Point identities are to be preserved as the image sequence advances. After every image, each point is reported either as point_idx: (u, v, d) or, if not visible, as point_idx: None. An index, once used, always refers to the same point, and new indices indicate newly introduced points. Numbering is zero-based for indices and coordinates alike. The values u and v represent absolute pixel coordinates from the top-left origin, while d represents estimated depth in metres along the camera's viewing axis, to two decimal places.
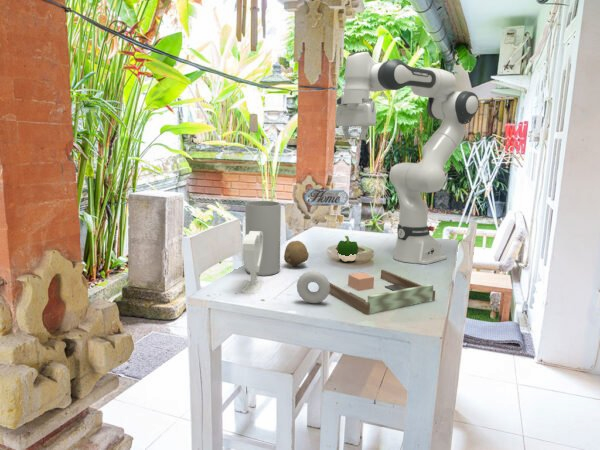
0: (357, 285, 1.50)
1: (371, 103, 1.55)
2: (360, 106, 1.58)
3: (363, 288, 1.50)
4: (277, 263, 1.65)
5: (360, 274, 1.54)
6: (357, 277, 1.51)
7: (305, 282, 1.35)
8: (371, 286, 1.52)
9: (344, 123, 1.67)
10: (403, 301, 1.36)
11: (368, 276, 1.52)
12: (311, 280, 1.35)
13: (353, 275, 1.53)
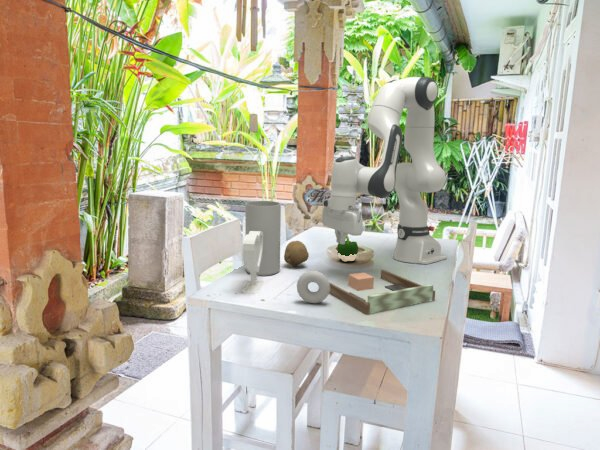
0: (356, 285, 1.50)
1: (357, 213, 1.51)
2: (346, 214, 1.54)
3: (362, 288, 1.50)
4: (277, 263, 1.65)
5: (360, 274, 1.54)
6: (356, 277, 1.51)
7: (305, 282, 1.35)
8: (371, 286, 1.52)
9: (330, 226, 1.63)
10: (403, 301, 1.36)
11: (368, 276, 1.52)
12: (311, 280, 1.35)
13: (353, 275, 1.53)
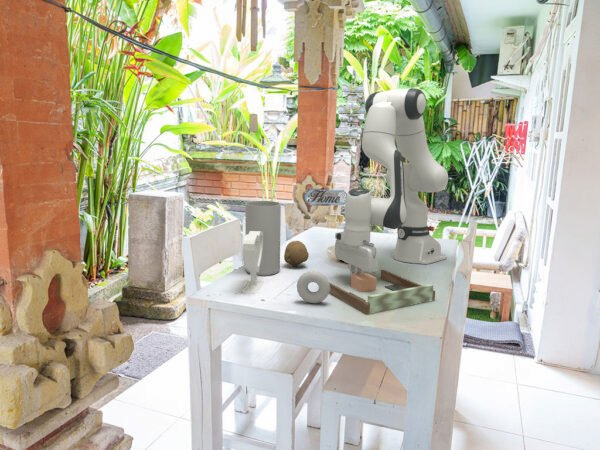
0: (359, 285, 1.49)
1: (372, 249, 1.45)
2: (361, 249, 1.48)
3: (365, 289, 1.49)
4: (277, 263, 1.65)
5: (363, 274, 1.53)
6: (359, 277, 1.50)
7: (305, 282, 1.35)
8: (373, 287, 1.50)
9: (343, 259, 1.57)
10: (403, 301, 1.36)
11: (371, 277, 1.51)
12: (311, 280, 1.35)
13: (356, 275, 1.52)
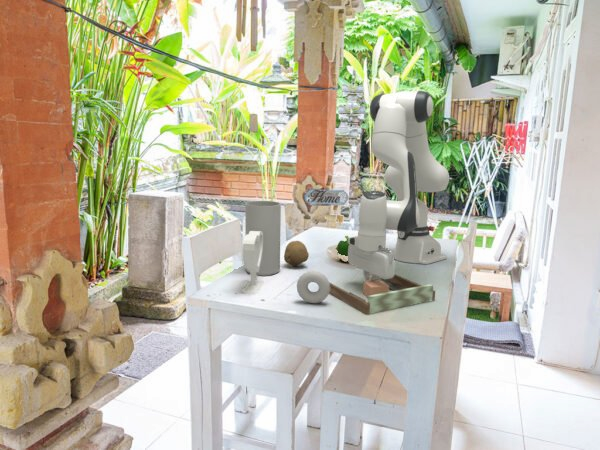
0: (369, 293, 1.42)
1: (389, 255, 1.38)
2: (376, 255, 1.41)
3: None
4: (277, 263, 1.65)
5: (376, 282, 1.46)
6: (370, 285, 1.43)
7: (305, 282, 1.35)
8: None
9: (357, 265, 1.51)
10: (403, 301, 1.36)
11: (383, 285, 1.43)
12: (311, 280, 1.35)
13: (368, 282, 1.45)
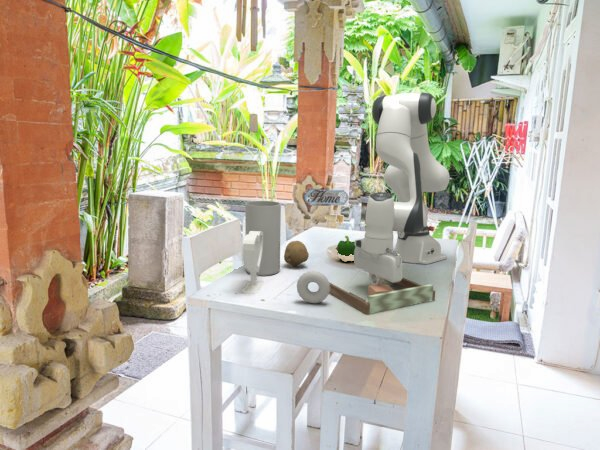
0: None
1: (397, 258, 1.35)
2: (384, 258, 1.39)
3: None
4: (277, 263, 1.65)
5: (381, 286, 1.43)
6: (375, 289, 1.40)
7: (305, 282, 1.35)
8: None
9: (364, 268, 1.48)
10: (403, 301, 1.36)
11: (389, 289, 1.40)
12: (311, 280, 1.35)
13: (373, 286, 1.42)
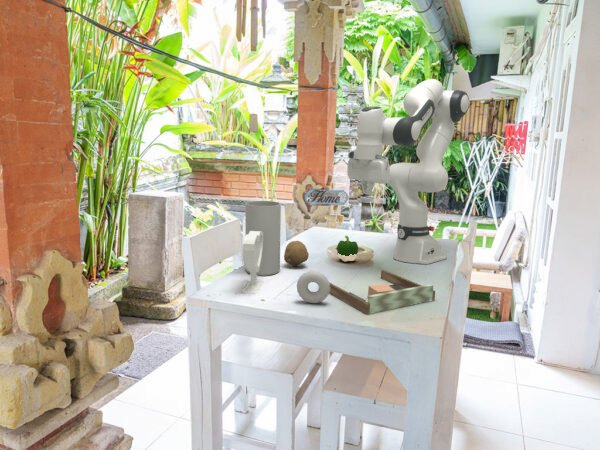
0: None
1: (385, 161, 1.52)
2: (373, 163, 1.55)
3: None
4: (277, 263, 1.65)
5: (381, 286, 1.42)
6: (376, 289, 1.39)
7: (305, 282, 1.35)
8: None
9: (356, 177, 1.65)
10: (403, 301, 1.36)
11: (389, 289, 1.40)
12: (311, 280, 1.35)
13: (373, 287, 1.42)
